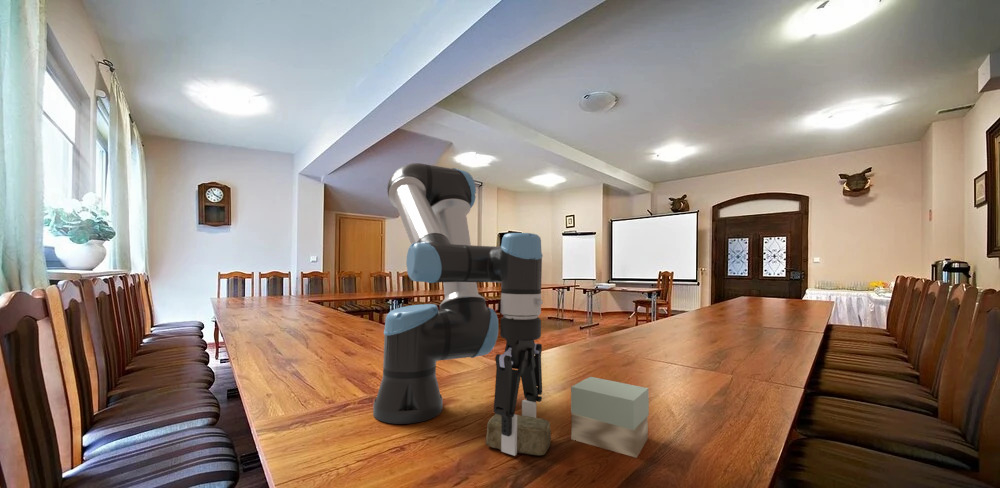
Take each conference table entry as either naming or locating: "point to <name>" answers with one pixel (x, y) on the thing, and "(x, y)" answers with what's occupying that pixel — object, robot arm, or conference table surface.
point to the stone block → (522, 434)
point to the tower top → (610, 402)
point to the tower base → (609, 435)
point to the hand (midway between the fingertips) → (519, 444)
